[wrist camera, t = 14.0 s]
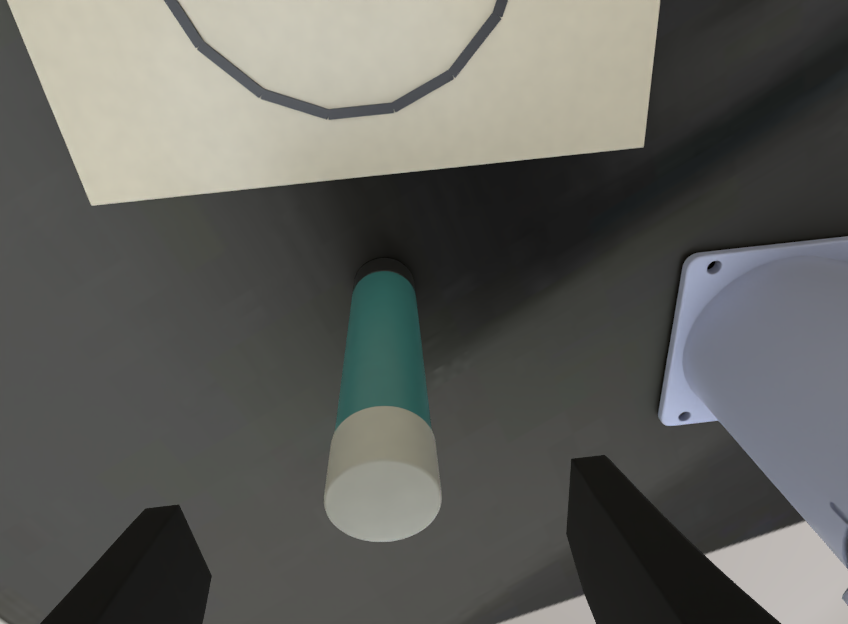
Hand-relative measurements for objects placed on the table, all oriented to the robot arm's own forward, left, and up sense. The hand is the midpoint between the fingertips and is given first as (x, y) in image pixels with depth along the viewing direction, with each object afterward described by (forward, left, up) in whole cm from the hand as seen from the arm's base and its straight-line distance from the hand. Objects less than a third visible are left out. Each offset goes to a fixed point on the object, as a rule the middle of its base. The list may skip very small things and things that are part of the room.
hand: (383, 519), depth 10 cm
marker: (0, 0, -10) cm, 10 cm away
